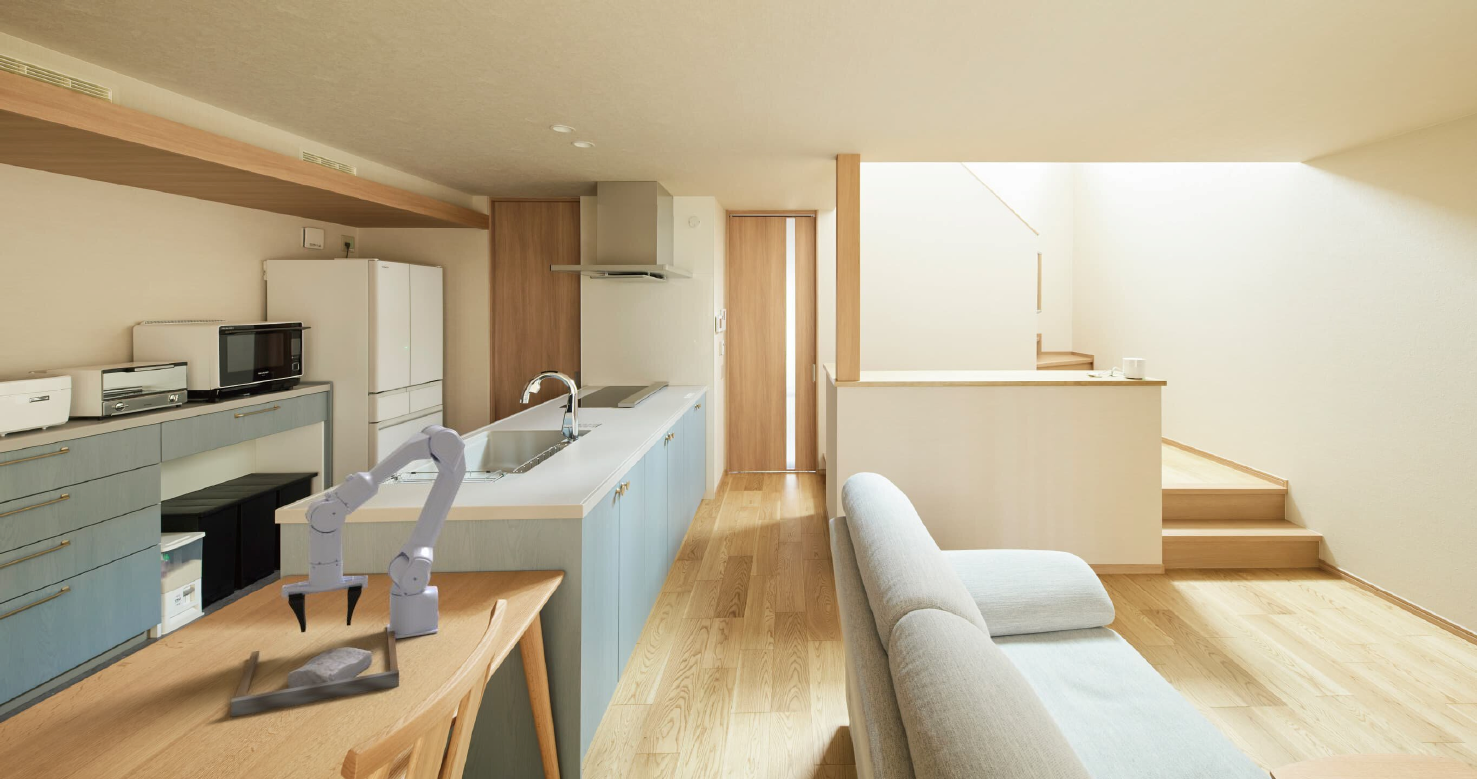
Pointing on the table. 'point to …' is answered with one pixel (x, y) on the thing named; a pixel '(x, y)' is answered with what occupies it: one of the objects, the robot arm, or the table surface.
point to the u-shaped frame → (311, 687)
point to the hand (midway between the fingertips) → (326, 627)
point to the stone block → (331, 667)
